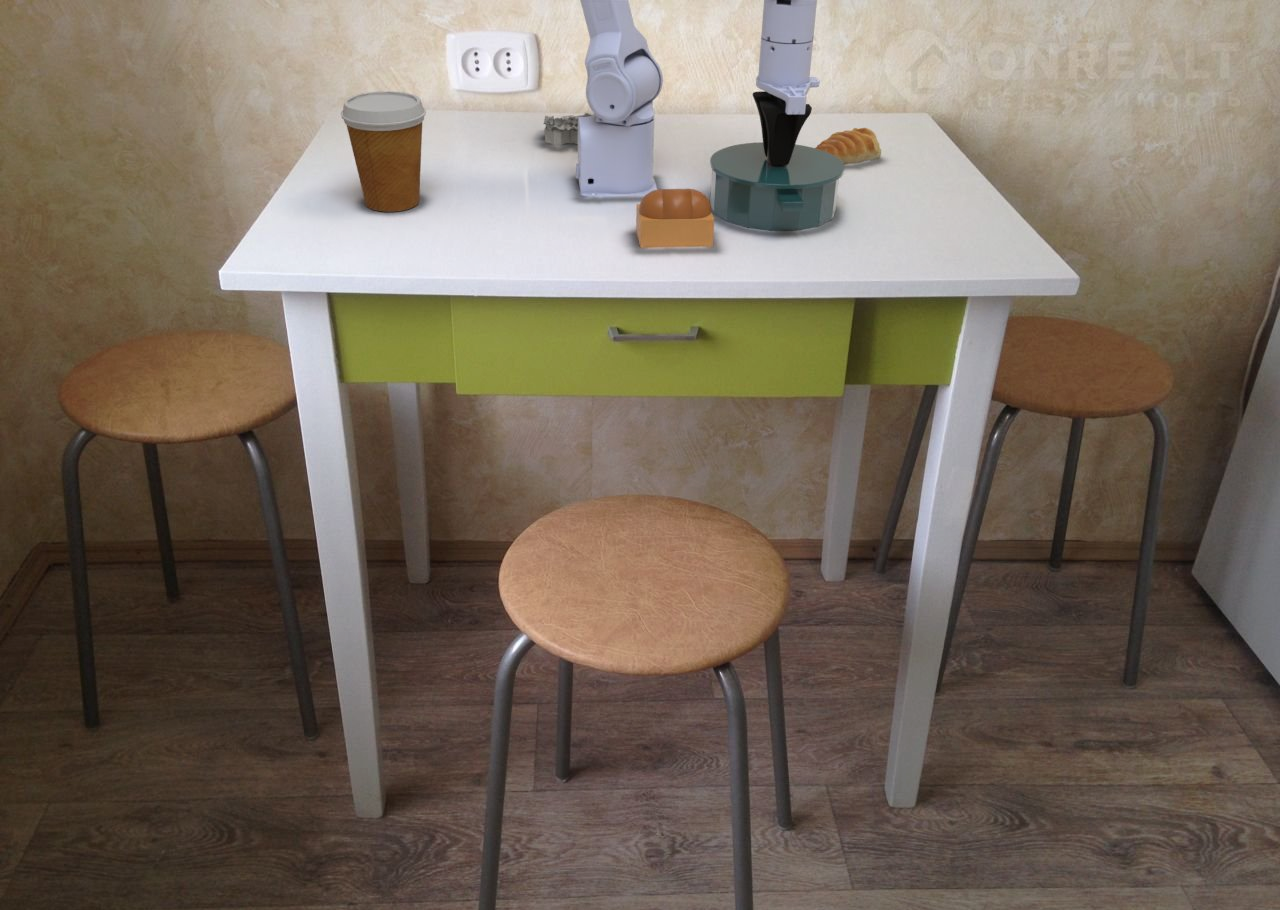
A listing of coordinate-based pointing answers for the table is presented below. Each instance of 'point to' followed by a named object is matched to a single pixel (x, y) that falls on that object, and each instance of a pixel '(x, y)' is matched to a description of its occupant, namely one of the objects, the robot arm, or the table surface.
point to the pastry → (852, 145)
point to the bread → (674, 219)
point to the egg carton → (562, 129)
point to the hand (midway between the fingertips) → (776, 160)
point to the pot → (772, 205)
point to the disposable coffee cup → (386, 147)
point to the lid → (776, 167)
